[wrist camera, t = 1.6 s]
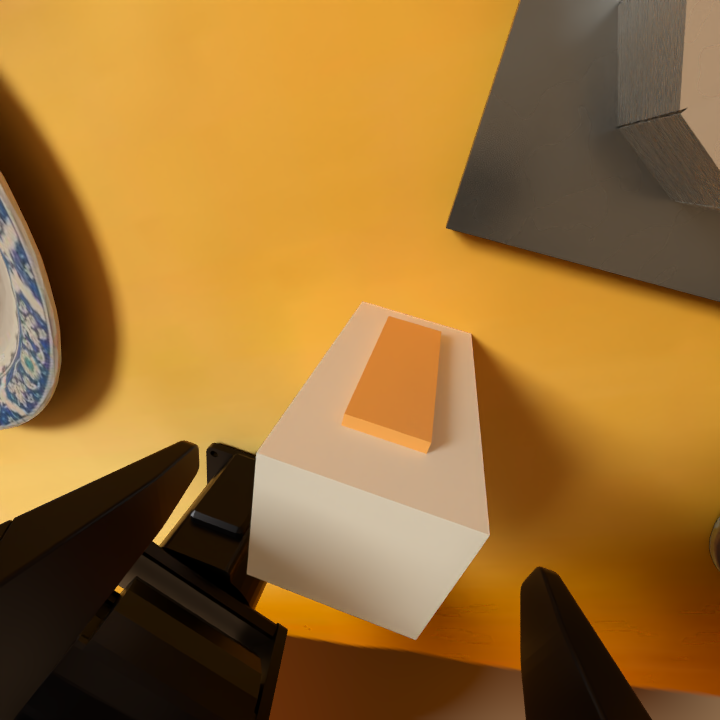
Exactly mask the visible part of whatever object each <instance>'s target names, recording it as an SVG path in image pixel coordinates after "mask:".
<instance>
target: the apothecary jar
mask: <svg viewBox="0 0 720 720" xmlns="http://www.w3.org/2000/svg"><path fill="white" fill-rule="evenodd" d="M710 554H711V557H712V560H713V562H714V564H715V566H716V568H717V569H718V570H719V571H720V517H719V518H718V520H717V521H716V523H715V525H714V528H713V530H712V533H711V536H710Z"/></svg>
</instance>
